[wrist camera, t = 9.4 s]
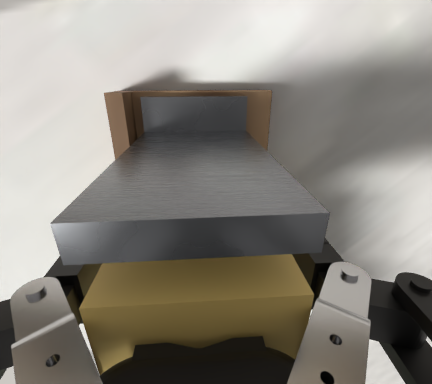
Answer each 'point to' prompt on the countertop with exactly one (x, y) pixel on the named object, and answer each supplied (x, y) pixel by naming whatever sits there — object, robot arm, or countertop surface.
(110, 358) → the book ochre
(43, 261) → the countertop surface
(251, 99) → the book trough
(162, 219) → the bookend
